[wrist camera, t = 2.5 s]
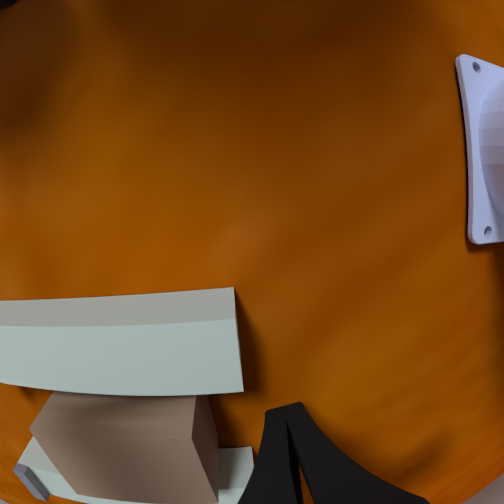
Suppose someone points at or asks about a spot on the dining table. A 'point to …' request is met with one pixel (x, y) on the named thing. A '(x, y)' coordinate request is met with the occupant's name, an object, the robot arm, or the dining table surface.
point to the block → (132, 446)
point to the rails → (124, 363)
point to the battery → (6, 3)
